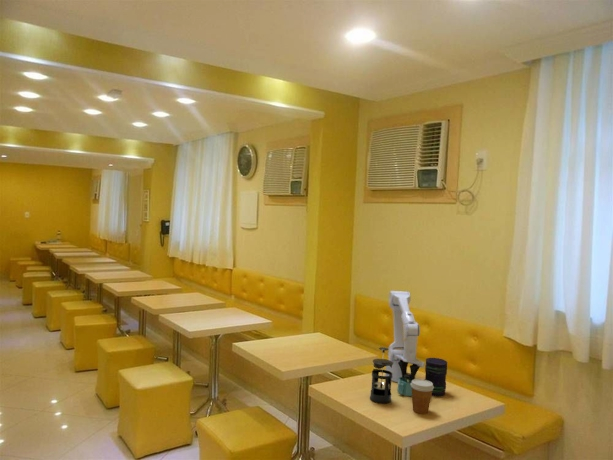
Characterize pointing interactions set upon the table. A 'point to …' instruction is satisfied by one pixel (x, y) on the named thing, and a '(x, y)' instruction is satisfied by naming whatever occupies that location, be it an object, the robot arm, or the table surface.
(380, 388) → the french press
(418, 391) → the disposable coffee cup
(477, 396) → the table surface
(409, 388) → the carafe
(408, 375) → the plunger
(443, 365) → the storage jar
